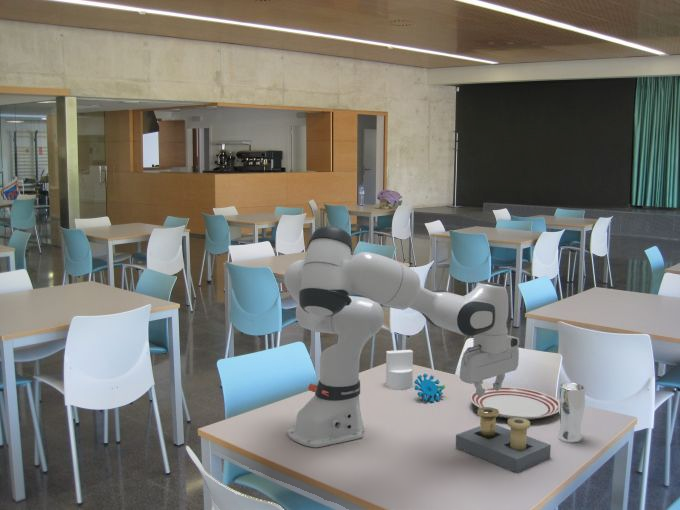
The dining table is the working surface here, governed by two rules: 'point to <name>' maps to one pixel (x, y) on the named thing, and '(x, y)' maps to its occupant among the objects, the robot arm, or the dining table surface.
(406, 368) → the white toy chair
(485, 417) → the bushing
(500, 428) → the jig
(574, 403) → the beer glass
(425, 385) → the gear
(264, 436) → the dining table surface
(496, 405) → the dinner plate
